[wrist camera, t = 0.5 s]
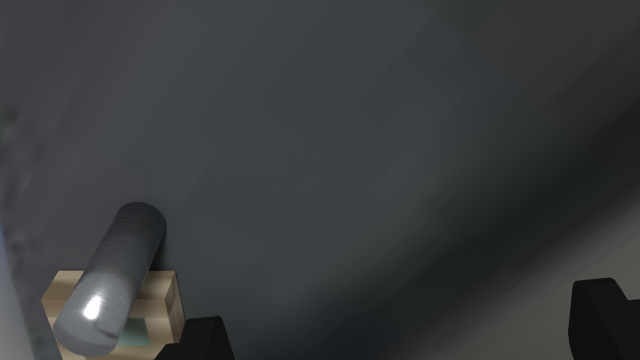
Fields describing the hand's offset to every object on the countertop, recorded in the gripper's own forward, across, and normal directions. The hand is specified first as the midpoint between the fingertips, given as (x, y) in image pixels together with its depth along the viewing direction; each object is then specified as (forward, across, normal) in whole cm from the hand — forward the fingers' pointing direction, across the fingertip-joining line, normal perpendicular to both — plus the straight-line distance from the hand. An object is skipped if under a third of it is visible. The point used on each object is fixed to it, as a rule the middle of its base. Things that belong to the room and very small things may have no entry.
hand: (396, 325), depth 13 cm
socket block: (+28, -23, -24) cm, 43 cm away
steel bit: (+28, -19, -14) cm, 36 cm away
